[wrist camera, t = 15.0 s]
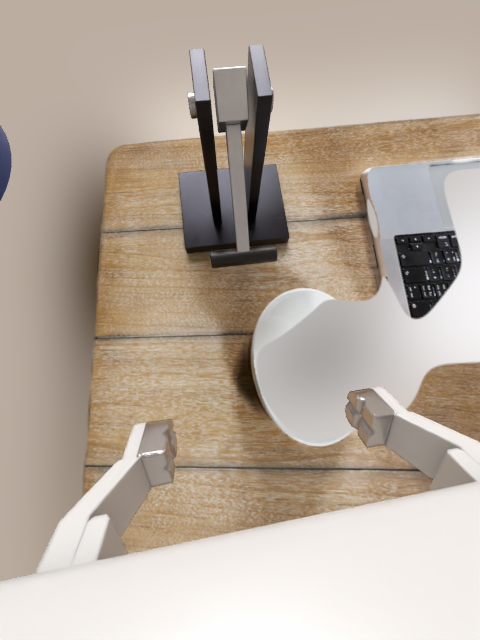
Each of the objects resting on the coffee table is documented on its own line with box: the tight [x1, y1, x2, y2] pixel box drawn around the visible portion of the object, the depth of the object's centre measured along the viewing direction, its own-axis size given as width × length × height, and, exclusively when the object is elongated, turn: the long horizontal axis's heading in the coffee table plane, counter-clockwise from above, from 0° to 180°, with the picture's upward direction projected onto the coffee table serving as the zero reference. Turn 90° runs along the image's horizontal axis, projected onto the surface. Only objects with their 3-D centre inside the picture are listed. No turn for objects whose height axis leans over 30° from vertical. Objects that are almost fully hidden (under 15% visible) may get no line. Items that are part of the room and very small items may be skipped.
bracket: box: [179, 45, 289, 253], centre depth 22 cm, size 10×12×14 cm
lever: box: [210, 66, 277, 268], centre depth 19 cm, size 13×6×2 cm
